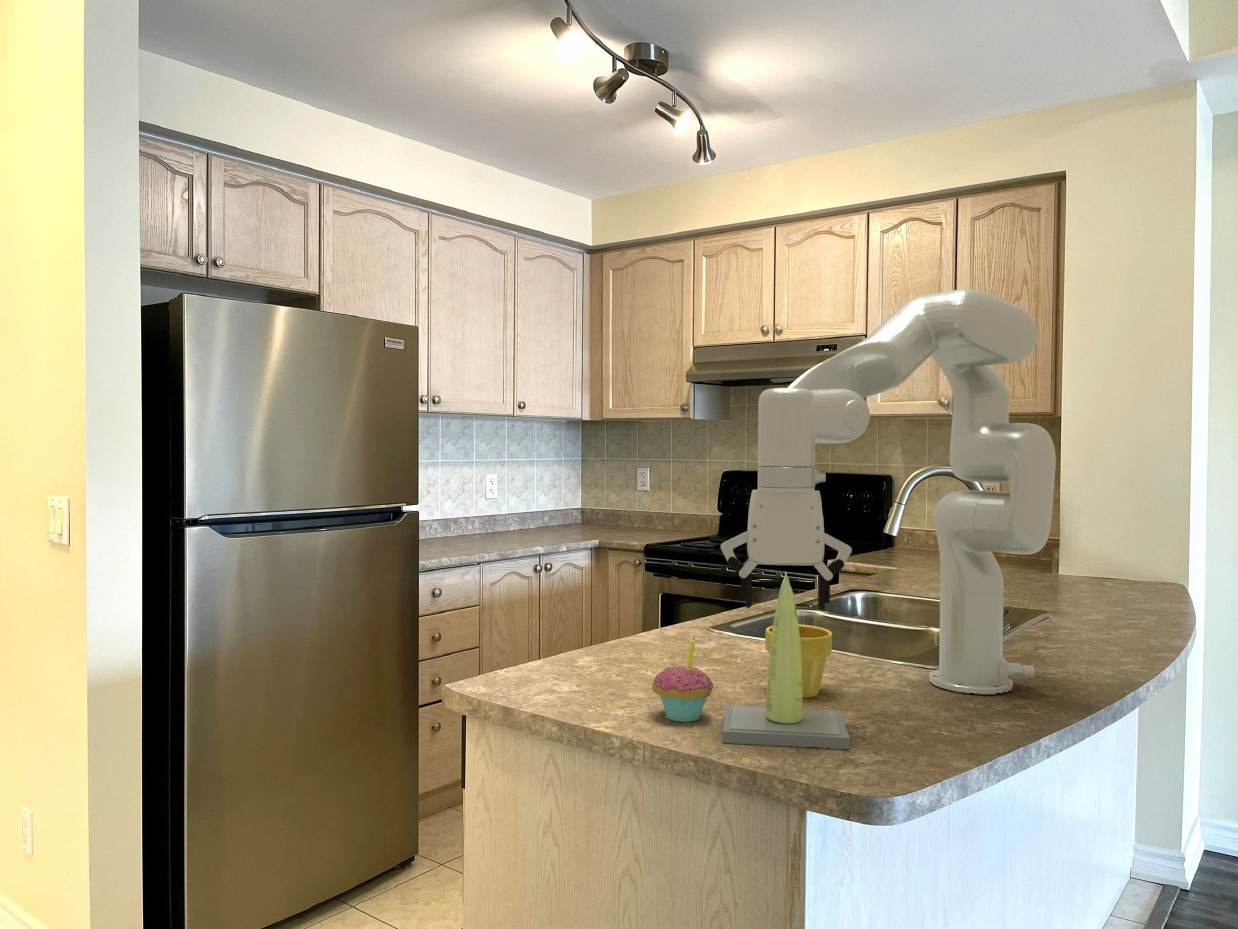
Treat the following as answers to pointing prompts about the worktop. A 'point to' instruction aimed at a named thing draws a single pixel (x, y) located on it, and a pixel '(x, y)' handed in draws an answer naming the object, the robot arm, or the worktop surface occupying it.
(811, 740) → the grey flat block
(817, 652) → the plant pot
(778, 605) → the tube
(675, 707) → the cupcake
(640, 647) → the worktop surface
